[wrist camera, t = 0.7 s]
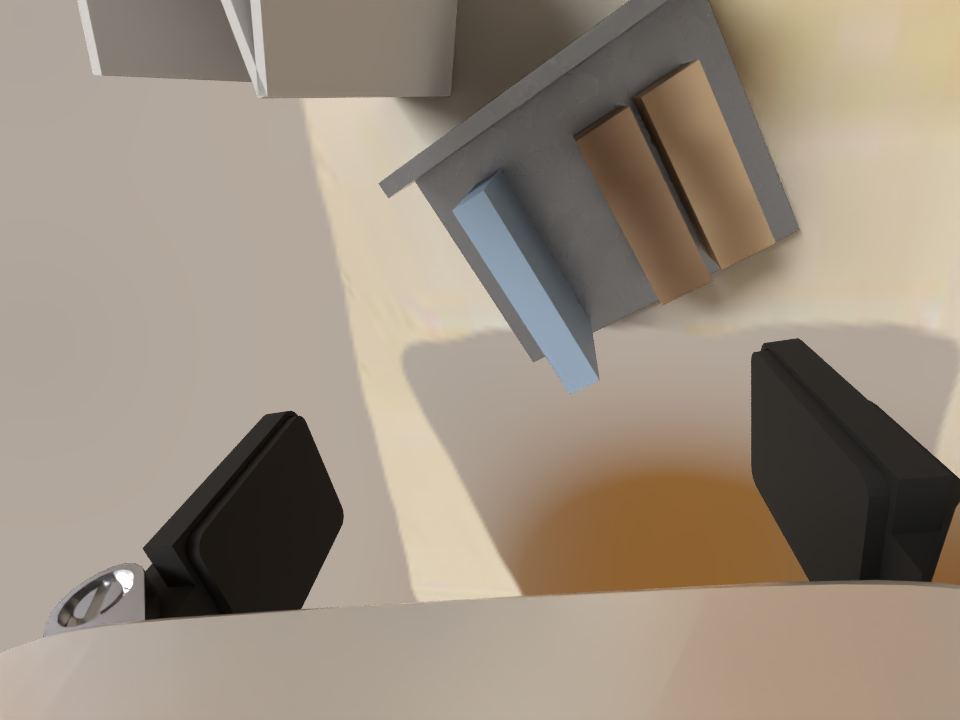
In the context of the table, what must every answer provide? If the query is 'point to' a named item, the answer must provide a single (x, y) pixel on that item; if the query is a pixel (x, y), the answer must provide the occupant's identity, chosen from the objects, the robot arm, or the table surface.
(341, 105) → the table surface
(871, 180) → the table surface
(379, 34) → the brochure
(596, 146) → the offcut tall
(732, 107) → the rack
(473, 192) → the sheet
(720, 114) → the offcut short
